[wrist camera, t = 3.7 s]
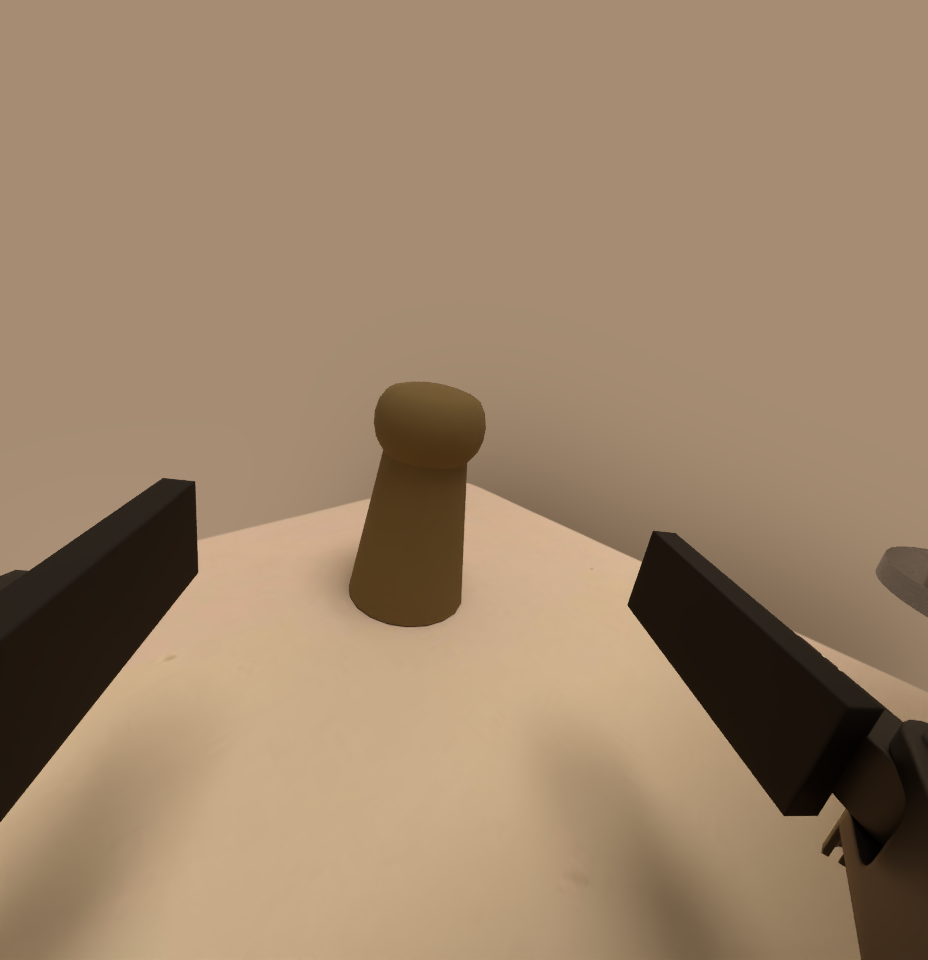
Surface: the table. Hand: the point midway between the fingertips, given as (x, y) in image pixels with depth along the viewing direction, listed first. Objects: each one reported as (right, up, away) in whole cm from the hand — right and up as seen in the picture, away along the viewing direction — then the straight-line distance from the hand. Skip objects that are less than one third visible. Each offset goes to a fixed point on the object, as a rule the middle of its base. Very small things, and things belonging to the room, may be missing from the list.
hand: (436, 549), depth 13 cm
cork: (-2, -4, +11) cm, 12 cm away
